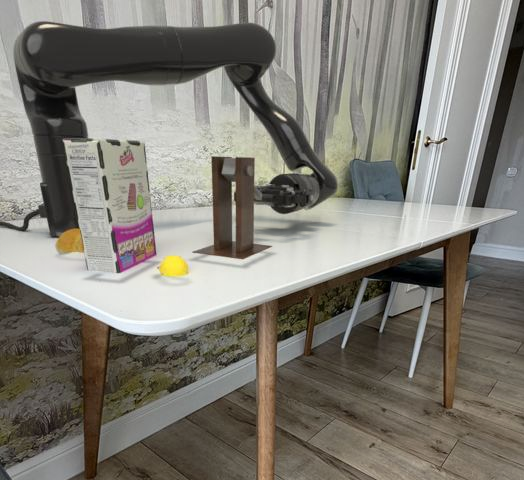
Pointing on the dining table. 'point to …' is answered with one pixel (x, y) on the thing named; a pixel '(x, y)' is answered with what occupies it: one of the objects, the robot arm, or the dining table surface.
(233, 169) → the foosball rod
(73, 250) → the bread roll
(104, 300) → the dining table surface
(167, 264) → the yellow lemon
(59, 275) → the dining table surface
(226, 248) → the bracket
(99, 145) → the candy bar box
